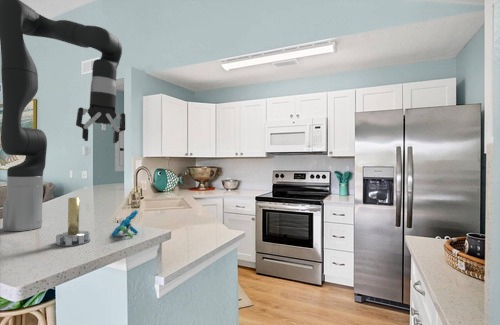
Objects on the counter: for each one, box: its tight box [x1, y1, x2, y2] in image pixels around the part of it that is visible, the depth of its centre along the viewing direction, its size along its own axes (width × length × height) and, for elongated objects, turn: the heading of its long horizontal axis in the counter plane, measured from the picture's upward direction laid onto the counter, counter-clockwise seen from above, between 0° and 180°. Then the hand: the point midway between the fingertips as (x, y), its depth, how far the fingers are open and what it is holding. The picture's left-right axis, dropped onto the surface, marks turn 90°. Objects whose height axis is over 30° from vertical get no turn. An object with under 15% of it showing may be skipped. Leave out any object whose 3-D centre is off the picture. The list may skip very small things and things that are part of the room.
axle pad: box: [55, 238, 91, 248], centre depth 76 cm, size 8×8×1 cm
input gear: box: [55, 196, 91, 246], centre depth 76 cm, size 8×8×12 cm
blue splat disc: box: [111, 209, 139, 239], centre depth 85 cm, size 11×6×10 cm
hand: (100, 142), depth 91 cm, fingers open, 8 cm apart
